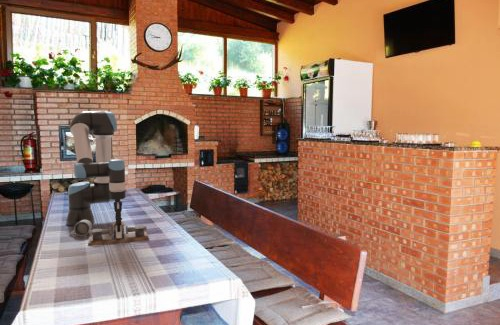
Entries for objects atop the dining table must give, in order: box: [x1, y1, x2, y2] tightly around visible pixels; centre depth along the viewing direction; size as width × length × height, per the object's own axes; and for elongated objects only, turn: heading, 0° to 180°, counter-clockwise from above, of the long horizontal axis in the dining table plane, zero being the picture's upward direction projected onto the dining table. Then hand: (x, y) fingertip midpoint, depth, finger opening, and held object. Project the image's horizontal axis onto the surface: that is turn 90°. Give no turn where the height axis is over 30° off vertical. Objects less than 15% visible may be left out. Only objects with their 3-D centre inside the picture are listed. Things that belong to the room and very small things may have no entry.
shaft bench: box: [87, 224, 150, 246], centre depth 195 cm, size 28×11×7 cm, turn 110°
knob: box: [112, 221, 125, 238], centre depth 195 cm, size 5×5×7 cm
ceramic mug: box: [69, 220, 93, 237], centre depth 204 cm, size 11×8×8 cm
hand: (118, 235), depth 195 cm, fingers open, 8 cm apart
